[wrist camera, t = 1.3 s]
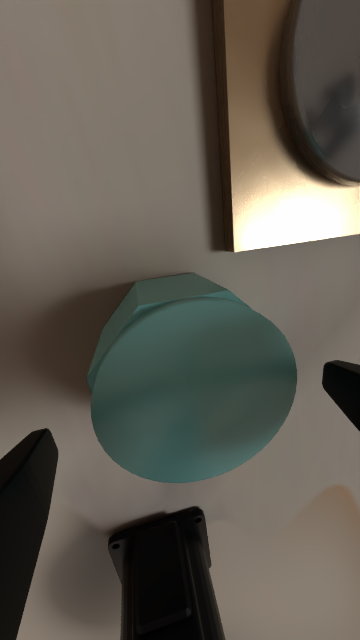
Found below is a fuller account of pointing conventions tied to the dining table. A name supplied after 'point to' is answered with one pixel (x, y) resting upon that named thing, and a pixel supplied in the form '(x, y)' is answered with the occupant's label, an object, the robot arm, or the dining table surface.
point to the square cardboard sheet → (288, 119)
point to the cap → (188, 380)
